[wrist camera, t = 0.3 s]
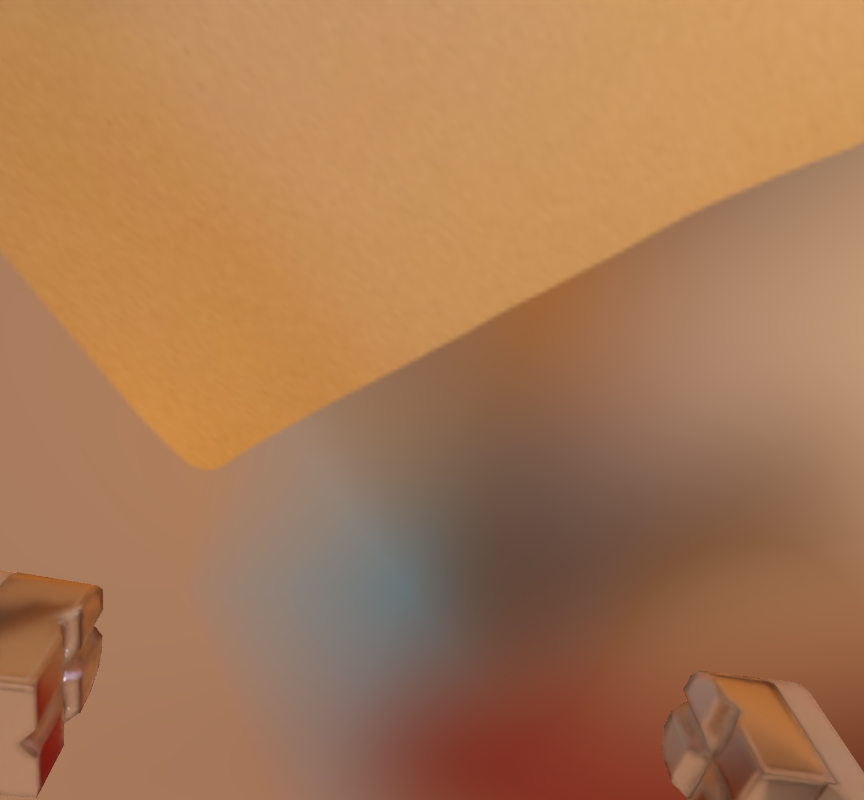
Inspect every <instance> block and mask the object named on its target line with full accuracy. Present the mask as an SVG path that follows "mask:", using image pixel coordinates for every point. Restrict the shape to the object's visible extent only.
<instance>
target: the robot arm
mask: <svg viewBox="0 0 864 800" xmlns="http://www.w3.org/2000/svg"><path fill="white" fill-rule="evenodd" d="M102 610H103V590H102V589H101V588H100V587H99V586H96V585H90V584H84V583H78V582H72V581H66V580H59V579H54V578H48V577H42V576H36V575H30V574H23V573H18V572H17V573H12V572H6V571H0V795H5V796H19V797H33V798H37V796H38V794H39V792H40V790H41V788H42V787H43V785H44V783H45V781H46V779H47V777H48V775H49V773H50V771H51V769H52V767H53V765H54V763H55V761H56V759H57V757H58V755H59V754H60V752H61V750H62V748H63V746H64V723H66V722H67V721H68V720H70V719H71V718H73V717H74V716H76V715H77V714H79V713H80V712H81V710H82V708H83V706H84V704H85V702H86V700H87V698H88V696H89V694H90V692H91V689H92V686H93V683H94V680H95V677H96V674H97V671H98V668H99V662H100V657H101V652H102V635H101V633H100V632H99V631H98V630H97V628H96V627H95V626H94V624H95V623H96V621H97V619H98V618H99V616H100V614H101V612H102ZM684 692H685V695H686V698H687V702H685V703H683V704H682V705H680V706H678V707H677V708H675V709H674V710H672V711H671V713H670V715H669V717H668V719H667V722H666V724H665V726H664V730H663V743H662V750H663V756H664V762H665V766H666V768H667V771H668V774H669V776H670V779H671V782H672V783H673V784H674V785H675V786H676V787H677V788H678V789H679V790H680V791H681V792H682V793H683V794H684V795H685V796H686V797H687V798H688V800H864V773H863V771H862V770H861V768H860V767H859V765H858V764H857V762H856V761H855V759H854V758H853V756H852V755H851V754H850V752H849V750H848V749H847V747H846V746H845V744H844V743H843V741H842V740H841V738H840V737H839V735H838V734H837V732H836V731H835V729H834V728H833V726H832V725H831V723H830V722H829V721H828V719H827V717H826V716H825V714H824V713H823V712H822V710H821V709H820V707H819V706H818V704H817V703H816V701H815V700H814V698H813V697H812V695H811V694H810V692H809V691H808V690H807V689H805V688H804V687H803V686H801V685H800V684H799V683H794V682H786V681H778V680H770V679H760V678H754V677H746V676H739V675H731V674H723V673H716V672H708V671H700V670H699V671H698V672H696V673H695V674H693V675H692V676H690V678H689V680H688V682H687V684H686V685H685V687H684Z"/></svg>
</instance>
